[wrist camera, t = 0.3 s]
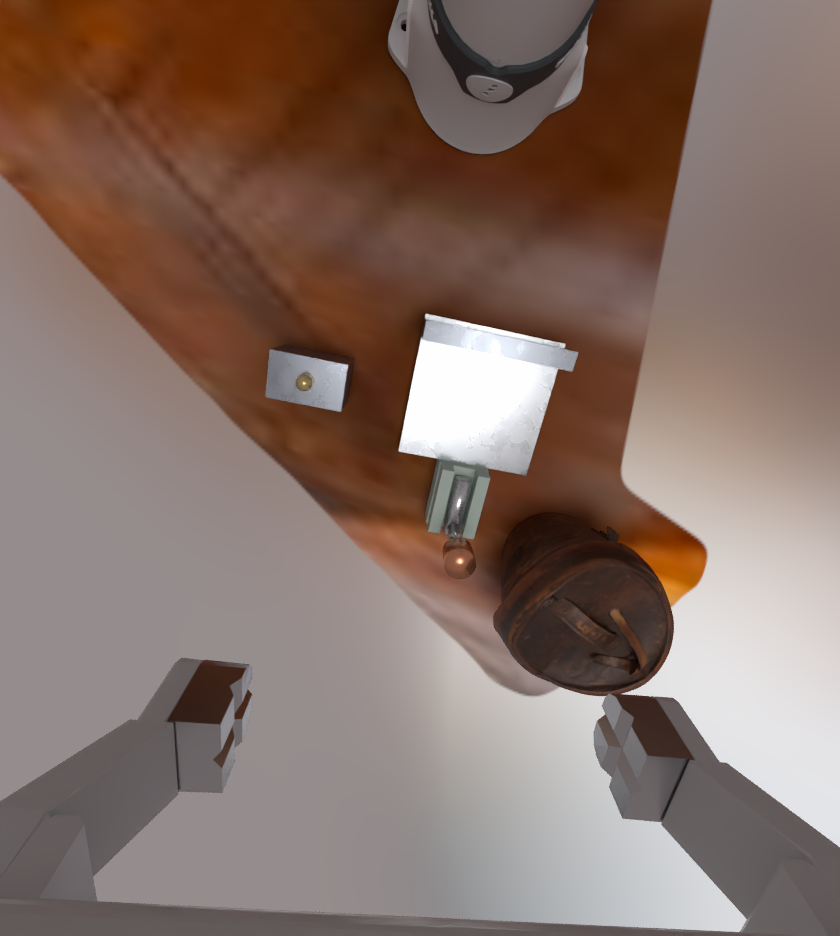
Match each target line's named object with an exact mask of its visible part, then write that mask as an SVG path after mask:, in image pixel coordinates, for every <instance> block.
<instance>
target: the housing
mask: <svg viewBox="0 0 840 936" xmlns="http://www.w3.org/2000/svg"><path fill="white" fill-rule="evenodd" d="M353 365H354V359H353V358H348V357H344V356H339V355H334V354H329V353H324V352H319V351H314V350H310V349H305V348H300V347H295V346H290V345H285V344H284V345H281V346H278V347H275V348H272V349H270V353H269V363H268V374H267V384H266V395H265V397H267V398H273V399H278V400H283V401H288V402H293V403H298V404H303V405H308V406H314V407H319V408H324V409H329V410H334V411H339V412H341V411H342V409H343V408H344V406H345V405H346V403H347V402H348V397H349V391H350V384H351V378H352V371H353Z"/></svg>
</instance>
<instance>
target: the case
mask: <svg viewBox="0 0 840 936" xmlns="http://www.w3.org/2000/svg"><path fill="white" fill-rule="evenodd" d="M607 533H608V538H607V534H605V533H604V532H603V531H600V532H597V531H596V530H595V529H593V528H591V529H590V528H589V527H587V526H585V525H584V524H582V523H581V522H579V521H578V520H576V519H574V518H572V517H569V516H566V515H562V514H557V513H545V514H540V515H536V516H533V517H531V518H529V519H527V520H525V521H523V522H522V523H520V524H519V525H518V526H517V527H516V528H515V529H514V530H513V531H512V532H511V533H510V535H509V537H508V538H507V540H506V542H505V545H504V548H503V554H502V605H500V606H499V608H498V609H497V611H496V612H495V613H494V616H493V621H494V622H493V623H494V628H495V630H496V631H497V632H498V634H499V635H500V637H501V638H502V640H503V642H504V643H505V645H506V646H507V648H508V649H509V651H510V653H511V654H512V656H513V657H514V659H515V660H516V661H517V662H518V663H519V664H520V665H521V666H522V667H523V668H524V669H526V670H527V671H528V672H530V673H531V674H533V675H535V676H537V677H539V678H541V679H544V680H546V681H549V682H551V683H553V684H555V685H557V686H559V687H562V688H565V689H568V690H571V691H574V692H578V693H581V694H587V695H593V696H607V695H608V694H622V693H625V692H628V691H631V690H634V689H636V688H639V687H641V686H642V685H644V684H645V683H647V682H648V681H649V680H650V679H651V678H652V677H653V676H655V674H656V673H657V672H658V671H659V669H660V668H661V667H662V665H663V663H664V662H665V660H666V658H667V656H668V654H669V651H670V648H671V645H672V640H673V632H674V621H673V615H672V611H671V607H670V604H669V601H668V598H667V595H666V592H665V590H664V588H663V585H662V583H661V581H660V580H659V579H658V577H657V576H656V574H655V573H654V571H653V570H652V569H651V567H650V566H649V565H648V564H647V563H646V562H645V561H644V560H643V559H642V558H641V557H640V556H639V555H638V554H637V553H636V552H635V551H634V550H632V549H631V548H629V547H627V546H626V545H624V544H622V543H617V541H618V538H619V535H618V534H617V533H616V532H615V531H614V530H613V529H612V528H611V527H608V526H607Z"/></svg>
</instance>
